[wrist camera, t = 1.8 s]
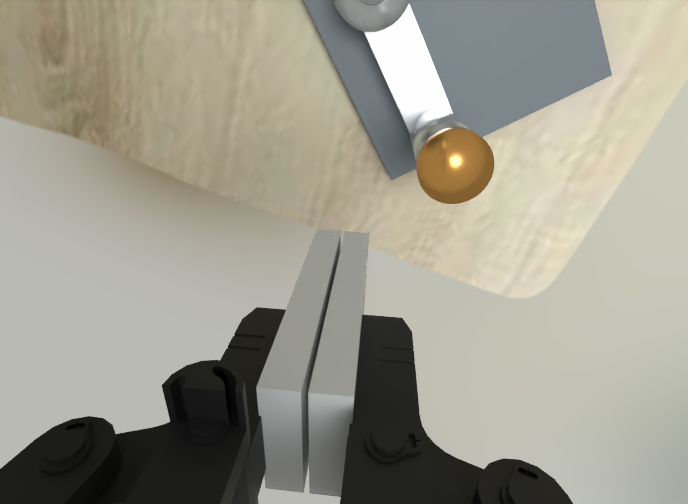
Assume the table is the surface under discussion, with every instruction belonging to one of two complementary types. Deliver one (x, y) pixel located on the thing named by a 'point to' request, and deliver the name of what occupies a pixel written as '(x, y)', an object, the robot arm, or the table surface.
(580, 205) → the table surface
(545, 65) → the plate
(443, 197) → the bar
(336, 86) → the table surface
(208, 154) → the table surface
